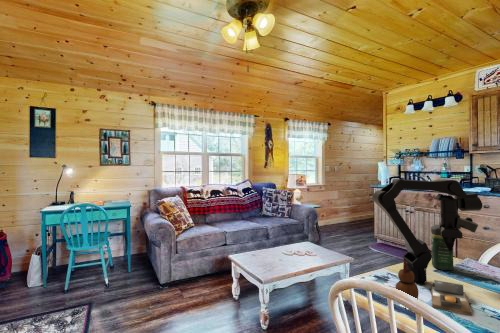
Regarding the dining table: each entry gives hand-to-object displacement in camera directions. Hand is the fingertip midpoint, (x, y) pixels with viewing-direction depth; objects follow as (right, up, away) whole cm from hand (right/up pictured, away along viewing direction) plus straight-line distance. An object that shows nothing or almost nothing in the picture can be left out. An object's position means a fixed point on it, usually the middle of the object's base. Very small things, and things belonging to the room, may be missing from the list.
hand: (450, 250), depth 106 cm
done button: (-14, -11, -19) cm, 26 cm away
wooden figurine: (-26, -13, -16) cm, 34 cm away
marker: (-9, -11, -11) cm, 19 cm away
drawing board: (-11, -12, -15) cm, 22 cm away
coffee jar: (+7, -12, +15) cm, 20 cm away
